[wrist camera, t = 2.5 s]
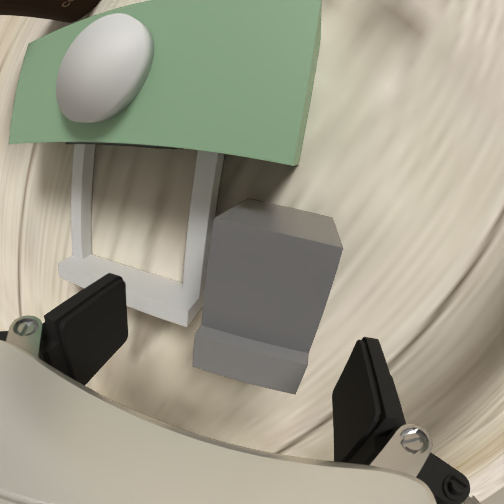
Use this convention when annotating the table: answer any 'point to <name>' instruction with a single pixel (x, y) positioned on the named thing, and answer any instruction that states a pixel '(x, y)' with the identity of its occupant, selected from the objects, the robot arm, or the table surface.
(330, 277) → the grey block
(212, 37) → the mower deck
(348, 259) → the table surface
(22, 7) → the coffee mug
